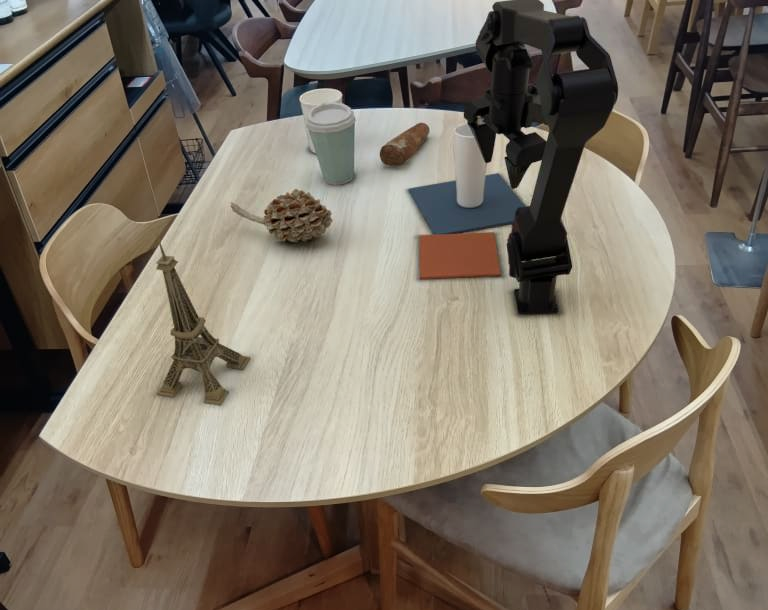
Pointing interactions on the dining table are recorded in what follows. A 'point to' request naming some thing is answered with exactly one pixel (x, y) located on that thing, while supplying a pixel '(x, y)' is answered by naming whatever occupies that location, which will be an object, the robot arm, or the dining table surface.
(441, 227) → the mat
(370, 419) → the dining table surface
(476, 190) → the tall white cup
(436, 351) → the dining table surface
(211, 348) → the eiffel tower
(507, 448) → the dining table surface
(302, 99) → the cream paper cup
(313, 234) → the pine cone
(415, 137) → the bread
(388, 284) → the dining table surface
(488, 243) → the terracotta mat
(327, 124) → the disposable coffee cup
